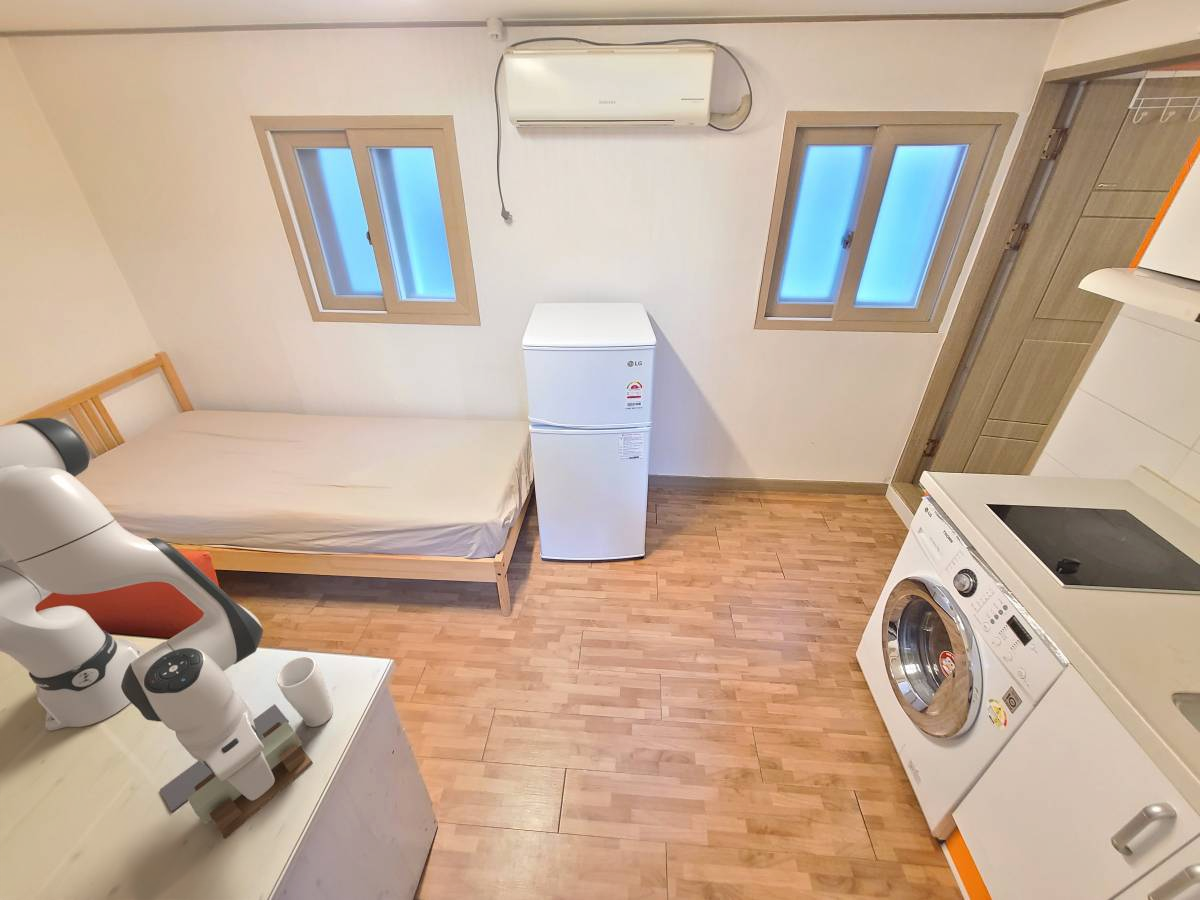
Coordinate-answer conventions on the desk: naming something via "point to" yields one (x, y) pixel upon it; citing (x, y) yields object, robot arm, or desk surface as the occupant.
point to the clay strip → (222, 790)
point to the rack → (242, 808)
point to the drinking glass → (306, 690)
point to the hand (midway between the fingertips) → (250, 769)
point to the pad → (187, 780)
